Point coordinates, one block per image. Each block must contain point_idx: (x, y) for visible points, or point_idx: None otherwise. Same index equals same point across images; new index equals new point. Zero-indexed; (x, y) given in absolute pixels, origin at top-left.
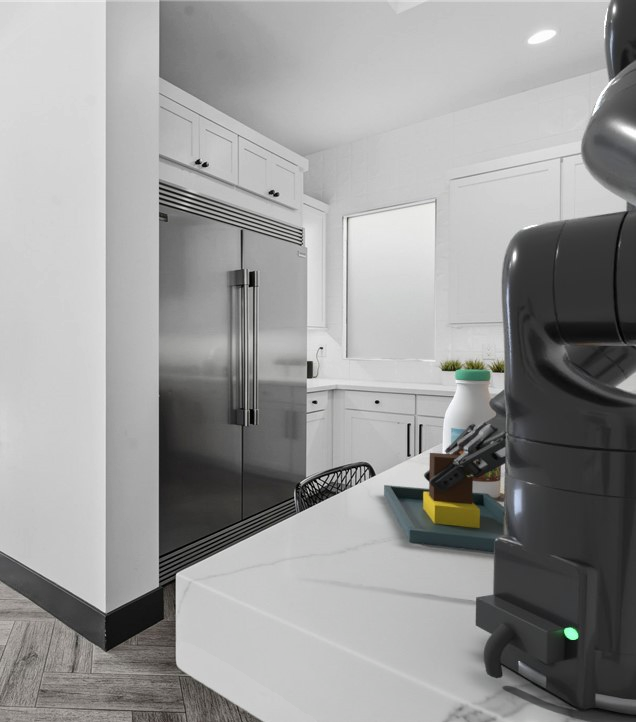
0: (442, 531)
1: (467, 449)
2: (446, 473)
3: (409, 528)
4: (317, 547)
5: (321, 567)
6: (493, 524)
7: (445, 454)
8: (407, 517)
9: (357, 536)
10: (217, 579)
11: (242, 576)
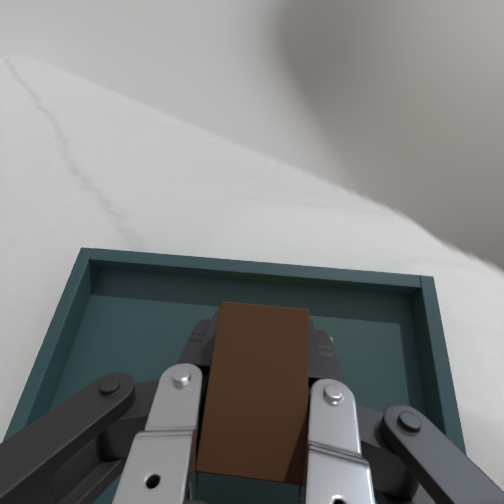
0: (69, 301)
1: (140, 432)
2: (198, 346)
3: (87, 248)
4: (90, 148)
5: (23, 146)
6: (231, 488)
7: (286, 367)
8: (154, 261)
9: (139, 197)
10: (3, 71)
11: (8, 86)
